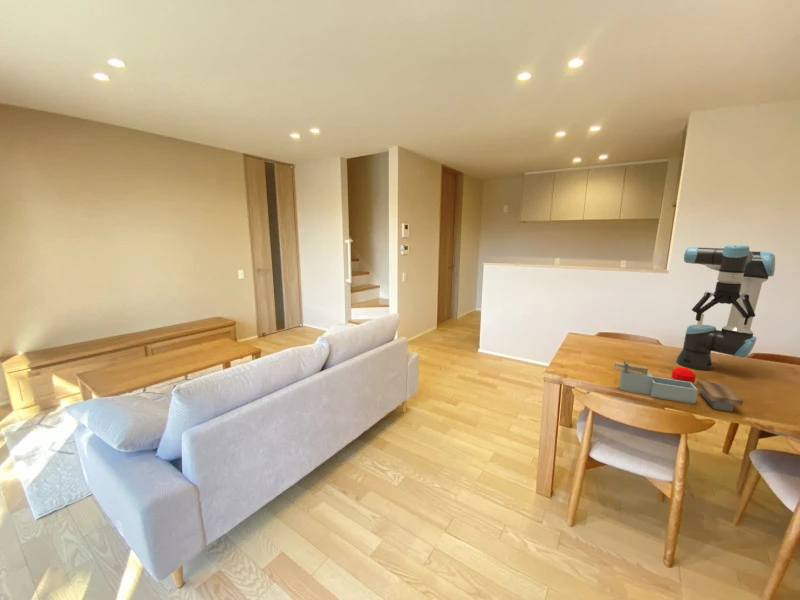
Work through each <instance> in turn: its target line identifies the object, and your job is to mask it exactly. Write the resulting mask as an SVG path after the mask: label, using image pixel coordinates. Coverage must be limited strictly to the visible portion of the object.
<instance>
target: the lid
mask: <svg viewBox="0 0 800 600" xmlns="http://www.w3.org/2000/svg"><path fill="white" fill-rule="evenodd" d="M695 382H696V383H695V384H696V386H697V387H698V388H699V390H700V391H701V390H702V391H703V392H704V394H705V395H706V396H707V397H708V398H709V399H710V400H712V401H718V402H724V403H730V404H734V405H737V406H743V403H744V401H743V400H742V398H740V397H739V396H738V395H737V394H736V393H734V391H733V390H731V389H730V388H729V387H728V386H727V385H726V384H722V383H717V382H710V381H702V380H696V381H695Z"/></svg>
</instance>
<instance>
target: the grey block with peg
mask: <svg viewBox="0 0 800 600" xmlns="http://www.w3.org/2000/svg"><path fill="white" fill-rule="evenodd" d="M623 364H625V365H626V366H625V372H624V371H620V379H619V383H618V387H620V388H619V390H620V391H623V392H630V393H636V394H641V395H648V396H650V391H651V386H652V380H653V377H654V376H653V375H652V373H650V372H647V375H644V374H637V373H630V372H627V371H628V364H629V363H628V361H626V360H625V361H623Z"/></svg>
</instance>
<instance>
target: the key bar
mask: <svg viewBox="0 0 800 600" xmlns="http://www.w3.org/2000/svg"><path fill="white" fill-rule="evenodd" d="M625 366H626V365H625V364H624V363H621V362H615V363H614V370H615V371H619V372H621V371H624V372H625ZM648 371H649V368H648V367H647V366H643V365H636V364H629V363H628V371H627V372H630V373H637V374H644V375H647V373H649V372H648Z"/></svg>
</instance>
